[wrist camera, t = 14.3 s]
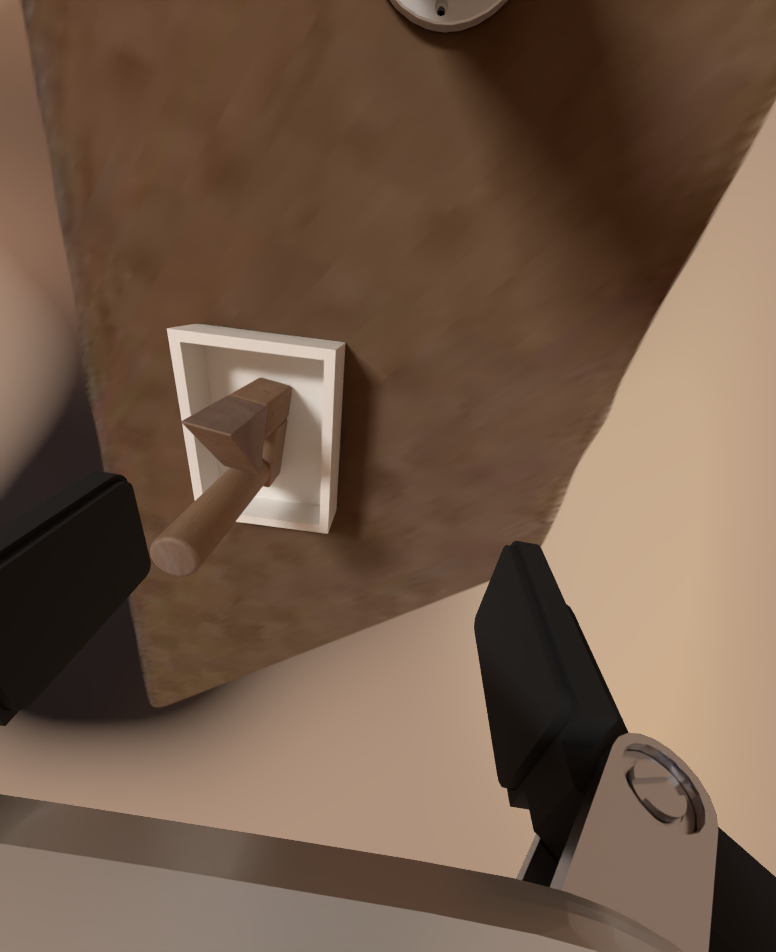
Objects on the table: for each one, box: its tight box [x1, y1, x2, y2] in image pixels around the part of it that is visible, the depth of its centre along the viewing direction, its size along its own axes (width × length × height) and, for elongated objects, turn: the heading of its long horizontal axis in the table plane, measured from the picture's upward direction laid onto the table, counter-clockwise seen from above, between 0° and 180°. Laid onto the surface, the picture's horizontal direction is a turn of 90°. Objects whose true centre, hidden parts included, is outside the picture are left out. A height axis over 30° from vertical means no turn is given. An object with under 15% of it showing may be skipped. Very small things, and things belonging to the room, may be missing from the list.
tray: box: [167, 324, 345, 534], centre depth 38 cm, size 20×15×5 cm
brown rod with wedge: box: [150, 377, 292, 576], centre depth 32 cm, size 4×11×18 cm, turn 165°
